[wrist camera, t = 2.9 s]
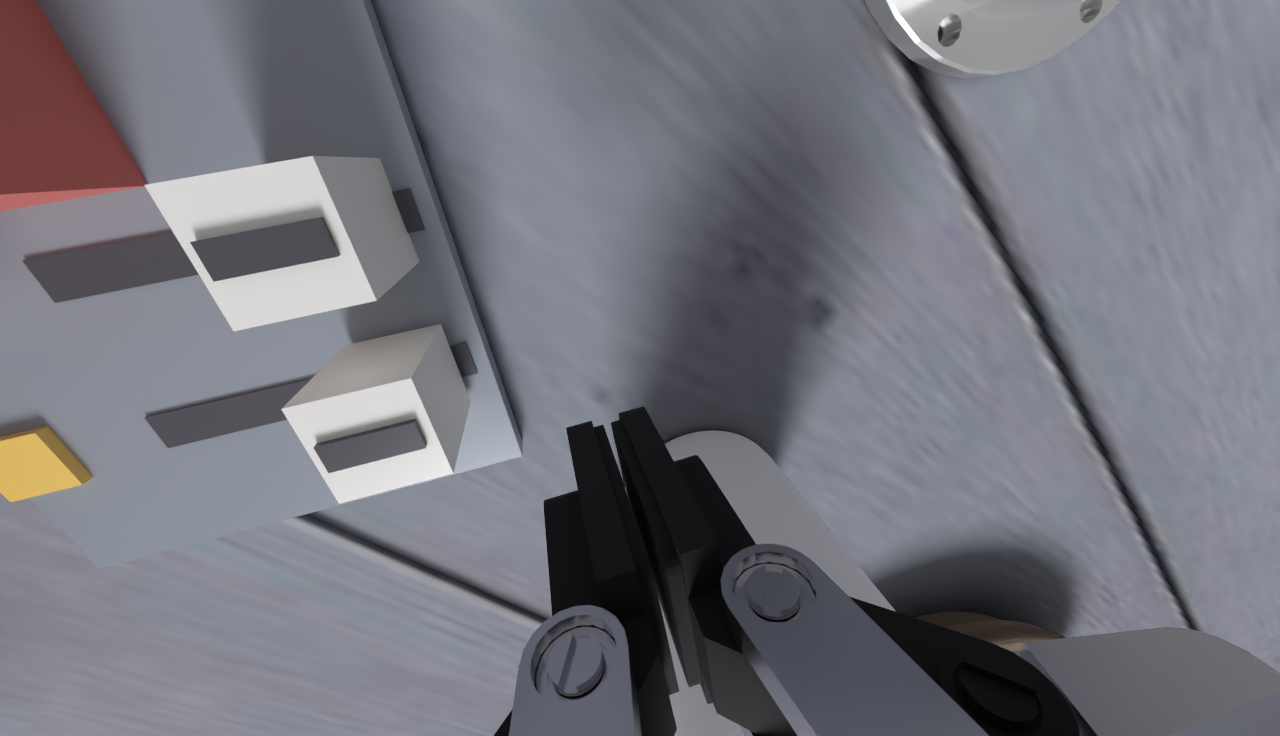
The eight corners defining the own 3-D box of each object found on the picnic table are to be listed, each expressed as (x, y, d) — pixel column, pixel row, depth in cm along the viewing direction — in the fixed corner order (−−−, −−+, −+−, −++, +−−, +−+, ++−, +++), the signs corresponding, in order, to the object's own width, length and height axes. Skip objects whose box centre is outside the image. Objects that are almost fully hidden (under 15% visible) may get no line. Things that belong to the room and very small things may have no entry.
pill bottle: (626, 573, 23) (758, 1128, 10) (605, 445, 20) (763, 1033, 6) (769, 535, 24) (1059, 984, 11) (773, 408, 21) (1200, 839, 8)
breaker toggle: (440, 323, 15) (409, 381, 11) (470, 401, 16) (452, 478, 12) (345, 345, 14) (276, 413, 11) (383, 423, 16) (336, 509, 12)
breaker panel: (312, -168, 11) (122, -461, 6) (522, 442, 19) (520, 545, 14) (-491, -99, 9) (-1843, -445, 4) (122, 547, 17) (-53, 713, 12)
